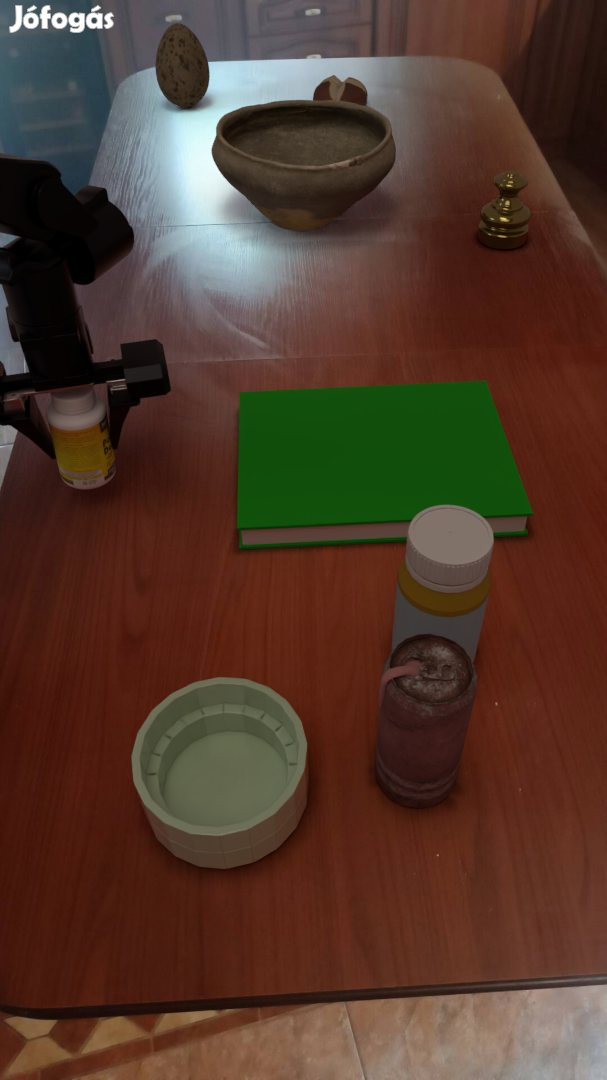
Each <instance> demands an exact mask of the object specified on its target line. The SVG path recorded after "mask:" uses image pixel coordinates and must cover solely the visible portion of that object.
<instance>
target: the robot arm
mask: <svg viewBox="0 0 607 1080" xmlns="http://www.w3.org/2000/svg"><path fill="white" fill-rule="evenodd" d="M108 195H109V194H108V189H107V188H105V187H101V186H97V185H91V184H87V185H85V186H83V187H82V188H81V189H79V190H78V191H77V192H76V194H75V195H74V194H73V193H72V192H71V191H70V190H69V188H67V187H66V186H65V184H64V183H63V181H62V173H61V170H60V169H59V168H58V167H57V166H56V165H55V164H52V163H51V162H49V161H46V160H41V159H36V158H31V157H24V156H19V155H14V154H8V153H2V152H0V234H5V235H10V236H14V237H15V238H14V239H13V240H11V241H9V243H7V244H5V245H3V246H0V285H1V286H2V290H3V293H4V297H5V300H6V303H7V305H6V306H5V314H6V320H7V326H8V330H9V333H10V337H11V340H12V342H14V343H19V344H20V348H21V351H22V353H23V357H24V361H25V363H26V367H27V370H28V372H21V373H13V374H7V370H6V368H5V364H4V363H3V362H2V361H1V360H0V426H2V427H6V426H10V427H12V428H13V429H14V430H16V431H17V432H19V433H20V434H22V435H23V436H25V437H26V438H28V439H29V440H30V441H31V442H32V443H34V444H35V445H36V446H37V447H38V448H39V449H40V450H41V451H42V452H43V453H45V454H46V455H47V456H48V457H49V458H50V460H57V458H56V454H55V450H54V446H53V441H52V437H51V433H50V429H49V427H48V426H47V424H46V421H45V419H44V417H43V414H42V412H41V409H40V407H39V406H38V402H37V398H36V395H42V394H51V392H58V391H65V390H72V389H79V388H86V387H92V386H93V387H94V386H97V385H103V384H106V395H107V408H108V411H107V412H108V422H109V428H110V436H111V443H112V446H113V451H115V450H118V448H119V443H120V440H121V436H122V431H123V427H124V424H125V421H126V419H127V416H128V414H129V412H130V409H131V408H132V407H137V406H140V404H141V403H142V399H147V398H148V399H149V398H154V397H161V396H166V395H168V394H169V393H171V392H172V387H171V382H170V381H171V380H170V376H169V375H170V374H169V369H168V364H167V359H166V354H165V349H164V344H163V343H162V342H160V341H159V340H158V339H157V338H153V339H146V340H138V341H131V342H124V343H120V344H119V345H120V347H119V348H120V354H115V355H109V356H107V357H106V358H105V359H104V360H101V361H100V360H99V361H94V358H93V355H95V353H94V351H95V350H94V345H93V344H94V343H93V340H92V336H91V333H90V329H89V325H88V323H87V322H86V320H85V315H84V311H83V306H82V305H81V304H80V301H79V297H78V294H77V289H76V285H78V286H88V285H90V284H92V283H94V282H95V281H96V280H98V279H99V278H101V276H103V275H104V274H106V273H107V272H108V271H109V270H111V269H112V268H113V267H114V266H116V265H117V264H119V263H120V262H121V261H122V260H124V259H125V258H127V257H128V256H129V255H130V254H131V253H132V251H133V249H134V245H135V232H134V228H133V227H132V225H130V222H129V221H128V219H127V217H126V216H125V214H124V213H123V211H122V210H121V209H119V207H118V206H117V205H115V204H114V203H113V202H111V201H110V200H109V196H108Z"/></svg>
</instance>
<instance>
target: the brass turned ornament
mask: <svg viewBox="0 0 607 1080" xmlns="http://www.w3.org/2000/svg"><path fill="white" fill-rule="evenodd" d="M492 182H493V185H494V186H495V187H496V188H497V189H498V191H499V193H498V194H497V196H496V197H494V198H493V199H492V200H490V201H488V202H487V203H484V205H482V207H481V208H480V213H479V215H480V216H479V217H480V221H479V222H478V231H477V239H478V241H479V242H480V243H481V244H482V245H484V246H486V247H488V248H491V249H496V250H512V249H517V248H519V247H521V246H523V245H524V244H525V243H526V242H527V238H528V232H529V230H530V227H529V223H530V220H531V218H532V212H531V209H530V208H529V206H528V205H527V204H525V203H524V202H523V201H522V199H521V198H520V197H519V193H520V192H521V191H523V190H524V189H526V188H527V187H528V185H529V178H528V177H527V176H526V175H524V174H522V173H521V172H519V171H518V170H515V169H509V170H506V171H503V172H500V173H498V174H496V175H494V177H493V179H492Z"/></svg>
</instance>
